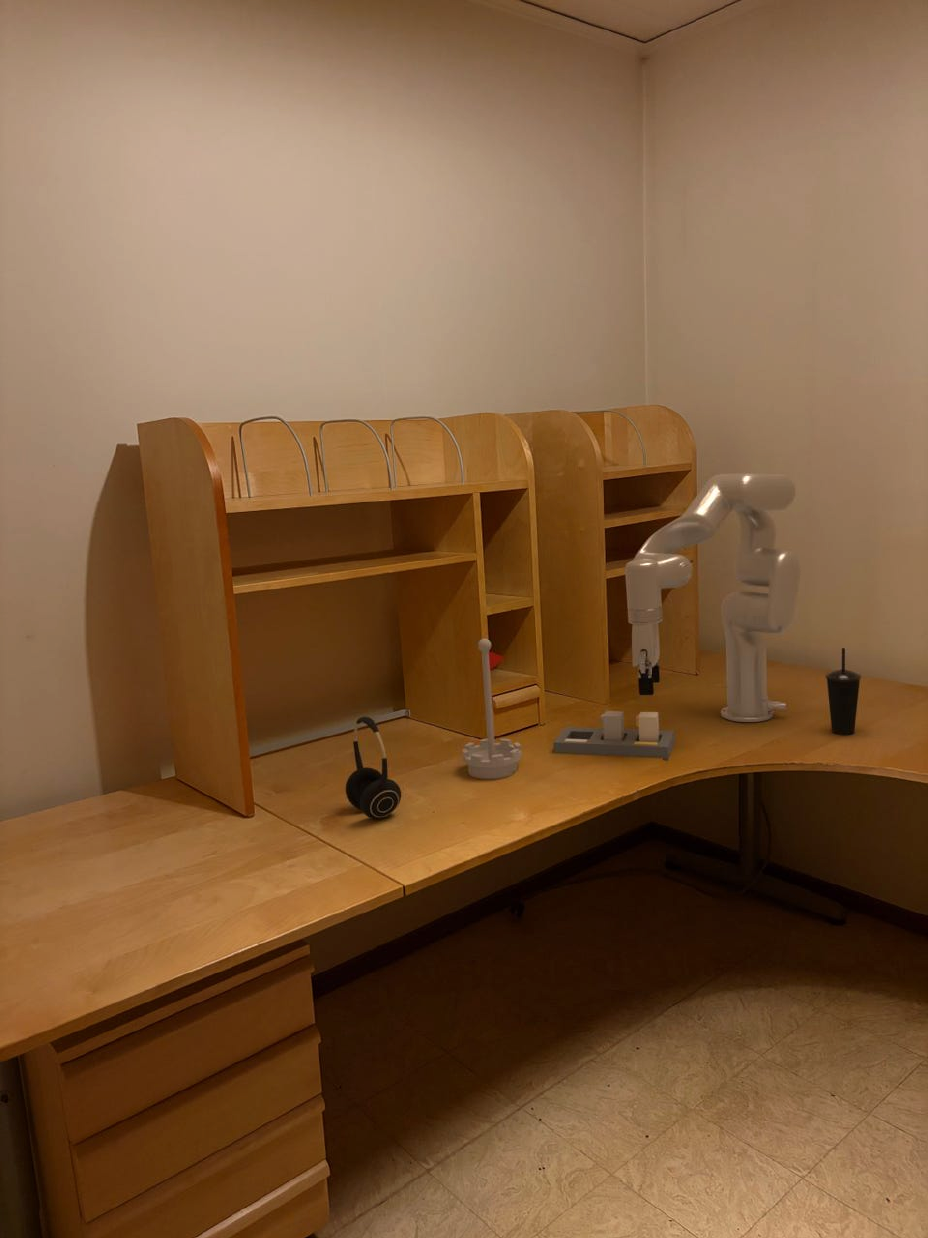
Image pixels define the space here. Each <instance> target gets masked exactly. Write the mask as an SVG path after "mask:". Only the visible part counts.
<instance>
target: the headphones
mask: <svg viewBox="0 0 928 1238" xmlns="http://www.w3.org/2000/svg"><path fill="white" fill-rule="evenodd" d="M361 723H364V724H365V725H366V726H367V727H369V728H370V729H371V731H372V732H373V734H375V736H376V738H377V740H378V743H379V746H380V751H381V756H382V757H381V772H380V771H379V770H377V769H375V768H373V767H369V766H368V767H364V765H363V760H362V756H361V752H360V749H359V748H360V747H359V742H358V729H359V726H360V724H361ZM379 732H380V731H379V728H378V726H377V724H376V722H375V720H374V719H372V718H371V717H369V716H362V717H359V718H358V719H357V720H356V723H355V726H354V729H353V741H352V743H353V744H352V746H353V753H354V760H355V766H356V770H354V771H353V772H352V773H351V774H350V775H349V777H348V778H347V781H346V784H345V795H346V798H347V800H348V802H349V803H350V804H351V805H352V806H353V807H354V808H356V809H358V810H360V811H362V813H363V814H364V815H365V816H366V817H367V818H371V819H376V820H377V819H382V818H386V817H388V816H389V815H391V814H392V813H393V812H394V811H395V810H396V809H397V808H398V807H399V805H400V803H401V799H402V790H401V787H400V786H399V784H398V783H397V782H396V781H395V780H393V779H390V778H389V777H388V776H389V774H388V771H389V770H388V758H387V755H386V749H385V746H384V743H383V740H382V737H381V735H380V733H379Z"/></svg>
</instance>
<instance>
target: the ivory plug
mask: <svg viewBox="0 0 928 1238" xmlns="http://www.w3.org/2000/svg"><path fill="white" fill-rule="evenodd" d="M635 726H636V727H638V729H639V741H644V742H659V730H660V727H659V726H660V721H659V712H658V711H640V712H639V714H637V715H636V717H635Z"/></svg>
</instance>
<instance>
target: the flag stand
mask: <svg viewBox="0 0 928 1238" xmlns="http://www.w3.org/2000/svg"><path fill="white" fill-rule="evenodd" d="M477 647H478V649H479V651H481V660H482V661H481V662H482V674H483V675H482V676H483V690H484V691H483V693H484V705H485V722H486V725H485V726H486V738H483V739H479V744H478V745H475V743H474V742H472V741H471V742H469V743H466V744H464V748H462V750H461V751H462V752H461V753H462V754H461V755H462V761H463V762H464V763H465V764H466V765H467V771H468V775H470V776H472V777H474V778H478V779H482V780H483V779H484V780H493V779H502V778H507V777H510V776H512V775H514V774H515V773H516V772H515V771H516V770H517V769H518V762H519V760H521V758H522V745H521V744H520V742H514V743H512V739H509V738H500V740H499V742H495V732H494V729H495V728H494V715H493V699H492V698H493V697H492V686H491V685H492V683H491V682H492V681H491V671H492V669H493V668H495V667H496V666H497V665H498V664H499V663H500V662H502V661H504V659H506V657H504V656H503V655H500V654H497V653H495V652H492V651H490V650H491V649H492V642H491V641H490V640H489V639H488V638H482V639H480V640H479V641H478V643H477Z"/></svg>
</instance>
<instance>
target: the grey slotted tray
mask: <svg viewBox="0 0 928 1238" xmlns="http://www.w3.org/2000/svg"><path fill="white" fill-rule="evenodd" d="M624 717H625V716H624V711H616V710H615V711H614V710H605V712H604V713H602V714H601V716H600V726H602V727H582V726H581V727H577V726H574V727H573V726H564V728H563V729H562V730H561V732H560V733H559V734H558V735H557V737H556V738H555V739H554V740H553V742H552V743H553V744H552V745H553V754H571V755H591V756H592V755H594V756H595V755H596V756H611V757H612V756H615V757H632V758H633V757H636V758H657V759H659V758H660V759H662V761H669V759H670V757H671V753H672V751H673V749H674V746H675V744H674V743H675V741H676V738H675V730H668V729H667V730H663V729H661V730H660V729H659V742H644V741H639V728H638V729H635V728H633V729H632V728H625V720H624Z"/></svg>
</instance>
